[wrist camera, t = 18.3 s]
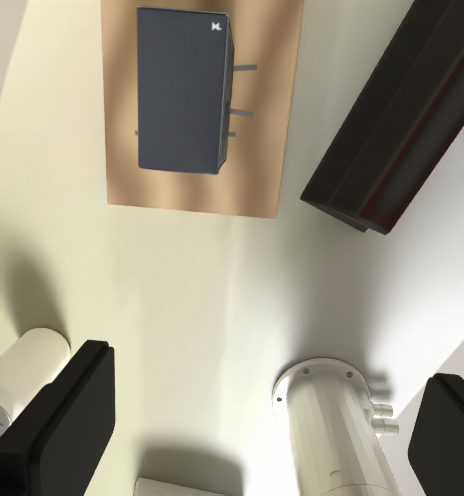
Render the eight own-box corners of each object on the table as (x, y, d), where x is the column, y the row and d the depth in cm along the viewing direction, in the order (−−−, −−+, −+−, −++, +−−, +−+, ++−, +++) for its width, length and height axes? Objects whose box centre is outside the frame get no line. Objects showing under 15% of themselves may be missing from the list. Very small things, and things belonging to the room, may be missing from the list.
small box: (164, 39, 32) (130, -1, 22) (235, 45, 32) (233, 8, 22) (163, 157, 35) (133, 169, 26) (227, 163, 35) (222, 176, 26)
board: (304, -22, 32) (307, -29, 30) (274, 215, 39) (275, 219, 37) (105, -40, 31) (99, -48, 30) (112, 201, 39) (107, 204, 37)
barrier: (432, -35, 31) (516, -105, 22) (509, 16, 32) (620, -30, 23) (297, 197, 38) (316, 221, 29) (364, 233, 39) (403, 266, 30)
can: (45, 316, 44) (-24, 382, 32) (82, 351, 45) (29, 426, 34) (11, 343, 45) (-66, 416, 34) (48, 376, 47) (-13, 456, 35)
